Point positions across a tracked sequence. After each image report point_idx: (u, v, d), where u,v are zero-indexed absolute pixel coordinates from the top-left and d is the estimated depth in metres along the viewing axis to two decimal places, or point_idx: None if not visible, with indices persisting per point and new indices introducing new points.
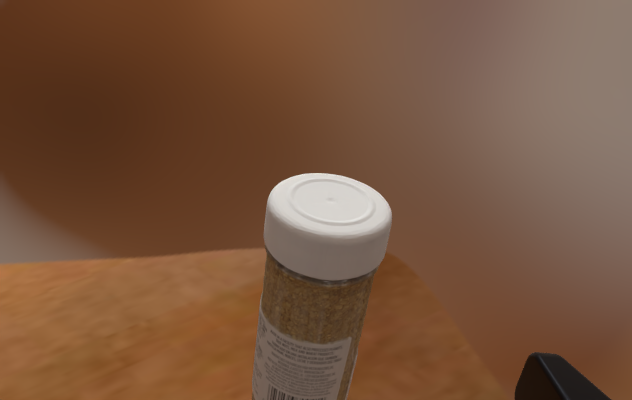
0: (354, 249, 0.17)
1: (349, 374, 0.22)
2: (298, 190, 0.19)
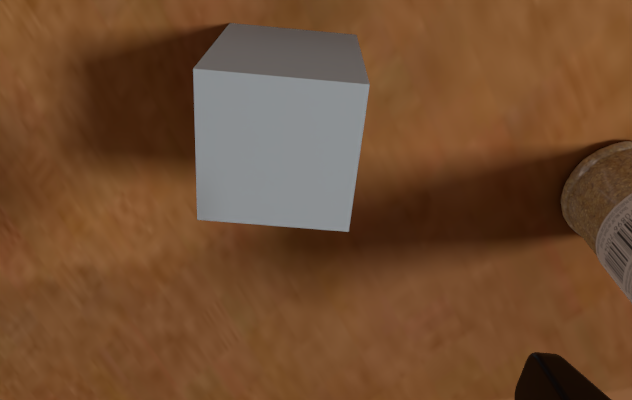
0: None
1: None
2: None
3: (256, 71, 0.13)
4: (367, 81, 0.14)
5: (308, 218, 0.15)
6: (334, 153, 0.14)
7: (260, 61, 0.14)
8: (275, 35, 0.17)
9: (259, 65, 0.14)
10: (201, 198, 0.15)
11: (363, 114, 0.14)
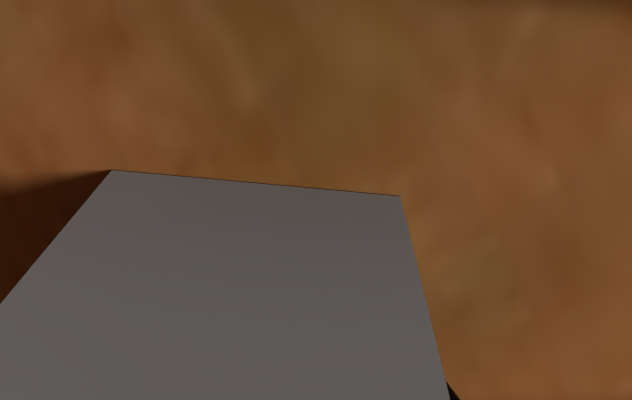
0: None
1: None
2: None
3: None
4: None
5: None
6: None
7: None
8: (204, 225, 0.07)
9: None
10: None
11: None
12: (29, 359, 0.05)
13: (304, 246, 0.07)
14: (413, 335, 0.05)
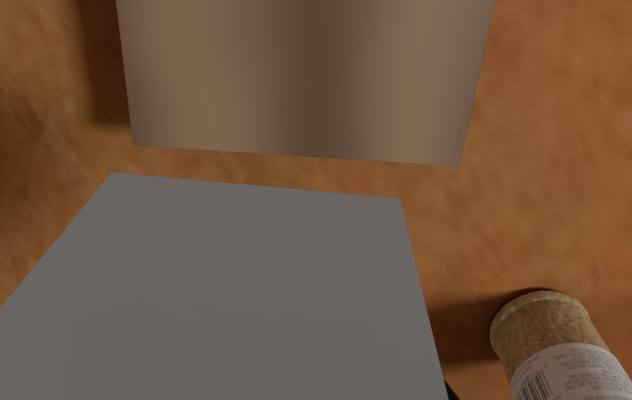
0: None
1: None
2: None
3: None
4: None
5: None
6: None
7: None
8: (204, 228, 0.07)
9: None
10: None
11: None
12: (30, 362, 0.05)
13: (304, 249, 0.07)
14: (412, 338, 0.06)
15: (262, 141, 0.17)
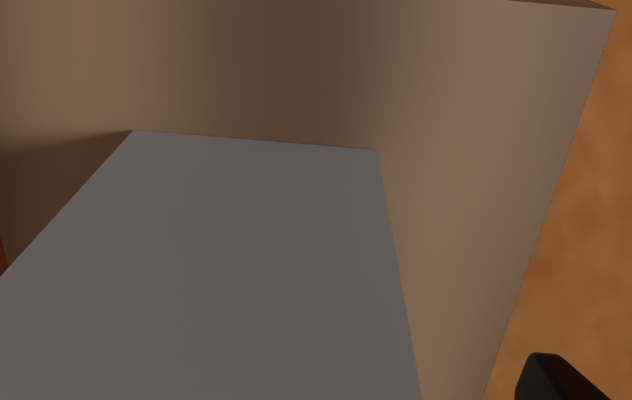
0: None
1: None
2: None
3: (92, 385, 0.05)
4: None
5: None
6: None
7: (132, 309, 0.05)
8: (212, 169, 0.08)
9: (119, 337, 0.05)
10: None
11: None
12: (80, 251, 0.06)
13: (293, 183, 0.08)
14: (377, 241, 0.07)
15: None
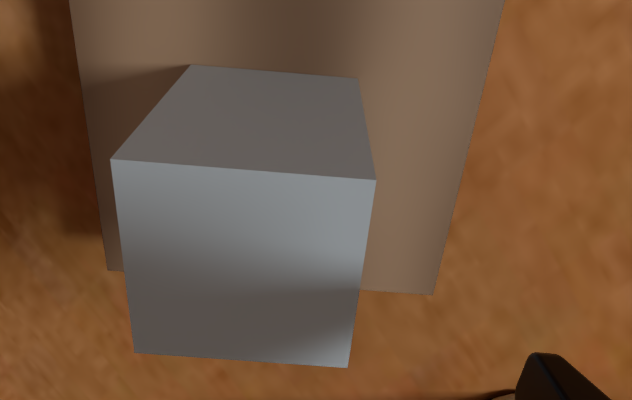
0: None
1: None
2: None
3: (206, 160, 0.09)
4: (373, 173, 0.09)
5: (290, 351, 0.11)
6: (326, 271, 0.10)
7: (217, 137, 0.10)
8: (248, 84, 0.13)
9: (214, 146, 0.10)
10: (138, 327, 0.11)
11: (367, 220, 0.09)
12: (180, 116, 0.11)
13: (302, 92, 0.13)
14: (354, 118, 0.11)
15: None
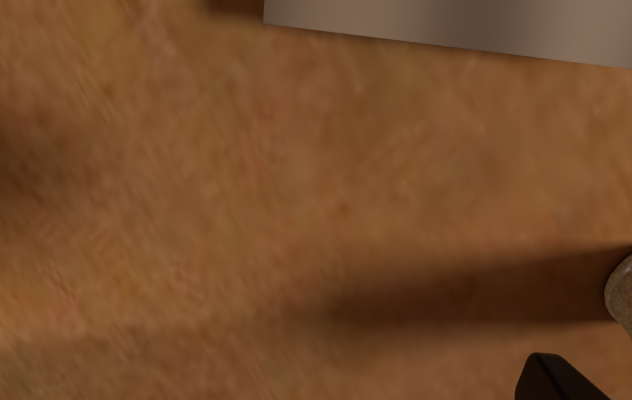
0: None
1: None
2: None
3: None
4: None
5: None
6: None
7: None
8: None
9: None
10: None
11: None
12: None
13: None
14: None
15: (413, 26, 0.15)
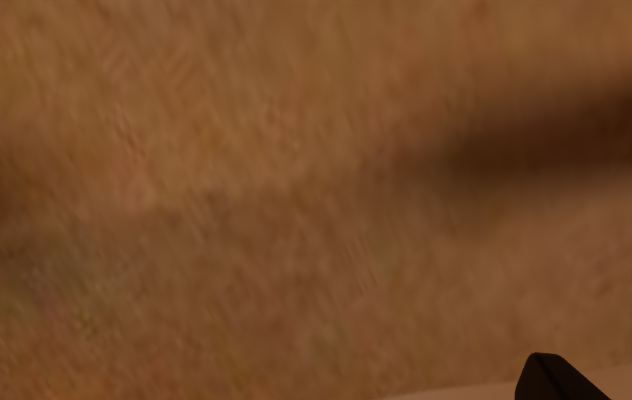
0: None
1: None
2: None
3: None
4: None
5: None
6: None
7: None
8: None
9: None
10: None
11: None
12: None
13: None
14: None
15: None
